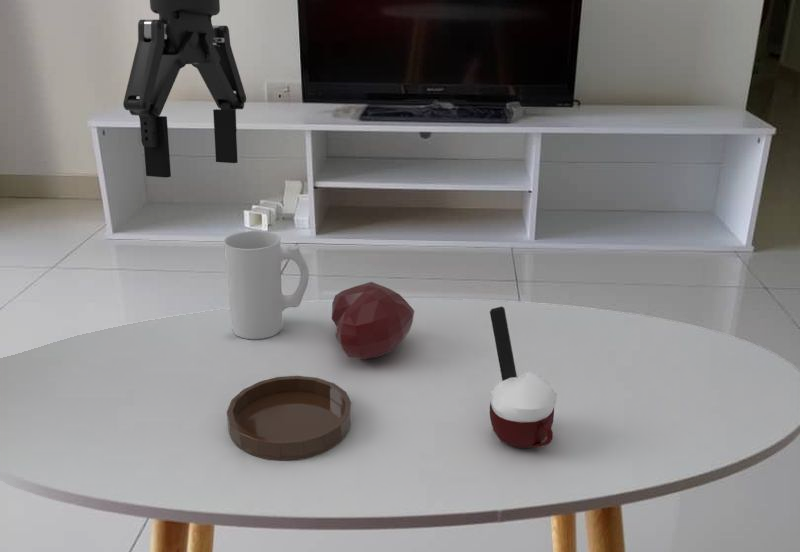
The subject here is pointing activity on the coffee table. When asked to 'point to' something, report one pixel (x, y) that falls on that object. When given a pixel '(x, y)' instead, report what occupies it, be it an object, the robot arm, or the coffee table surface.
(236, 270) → the mug
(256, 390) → the tray
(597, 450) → the coffee table surface
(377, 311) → the heart
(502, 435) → the cocoa
